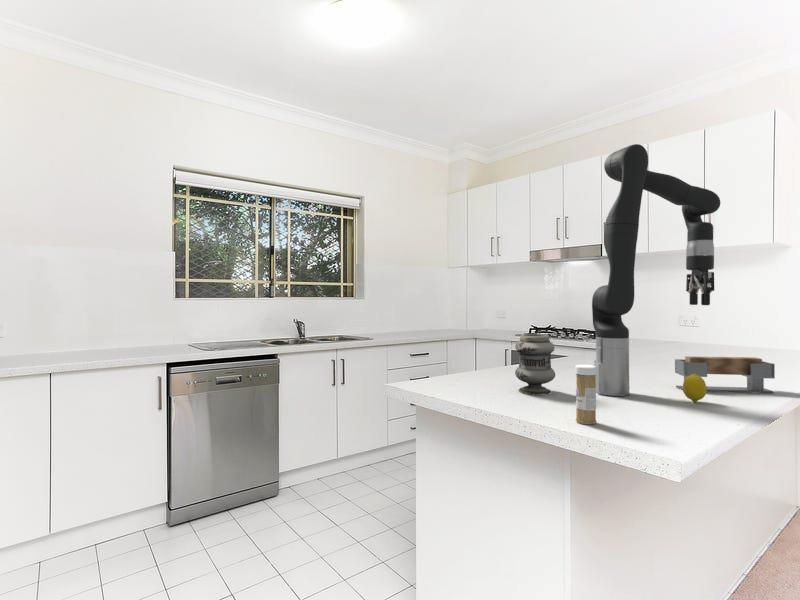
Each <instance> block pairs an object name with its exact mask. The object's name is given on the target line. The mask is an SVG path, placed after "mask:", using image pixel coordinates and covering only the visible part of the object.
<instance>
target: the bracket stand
mask: <svg viewBox="0 0 800 600" xmlns="http://www.w3.org/2000/svg"><path fill="white" fill-rule="evenodd" d="M775 368H776V367H775V363H771V362H767V361H763V360H762V363H749V375H742V376H744V377H746V387H744V386H741V387H739V386H712V385H711V386H710V385H708V386H707V385H706V392H716V391H735V392H734V393H752V392H759V394H774V391H773V390H771V389H768V388H765V384H764V381H765V380H764V379H773V380H774V379H776V378H775V376H776V375H775ZM674 372H675V374H677V375H680V376H682V377H683V381H684V380H685V378H686V377H688V376H690V375H692V374H696V375H698V376H700V377H701V378H707V377H708V374H707V363H706V362H685V358H684V359H683V358H681V359H678V358H677V359H674ZM676 387H677V388H676ZM675 388H676V389H678V388H679V390H680V389H681V391H682V390H683V385H675Z"/></svg>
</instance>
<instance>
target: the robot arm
mask: <svg viewBox="0 0 800 600" xmlns="http://www.w3.org/2000/svg"><path fill="white" fill-rule="evenodd" d="M603 167H604V168H603V169H604V171H605V173H606V176H608V177H609V178H610V179H611V180H614V181H616V182H619V183H620V189H619V192H618V195H617V197H616V198H615V201H614V203H613V204H612V207H611V208H610V210H609V212H608V214H607V217H606V219H605V225H604V233H603V245H604V249H605V253H606V256H607V260H608V263H609V274H608V275H609V276H608V284H607V285H601V286H599V287H598V288H596V290H595V291H594V292H593V295H592V299H591V300H592V301H591V311H592V312H591V313H592V314H591V316H592V325H593V329H594V331H595V360H594V361H593V366H596V394H598V395H603V396H613V397H614V396H615V397H625V396H629V395H630V330H629V328H628V327H627V326H626V325H625V323H624V322H623V320H622V319H623V318H622V316H624V315H626V314H628V313H629V312H630V311H631V310H632V308H633V305H634V303H635V265H636V264H635V263H636V252H637V243H638V237H639V236H638V235H639V227H640V214H641V205H642V197H643V192H644V191H646V192H649V193H651V194H654V195H656V196H658V197H660V198H662V199H664V200H666V201H668V202H669V203H671V204H673V205H676V206H681V212H682V216H683V219H684V223H685V226H686V229H687V234H686V235H687V237H686V239H687V240H686V241H687V243H686V248H685V249H686V251H685V254H686V255H685V265H686V266H685V269H686V270H687V271H691V273H687V274H686V280H685V281H686V286H685V287H686V288H685V291H686V292H688V294H689V305H690V306H698V303H699V294H698V293H699V290H700V293H701V294H700V295H701V297H700V302H701V303H700V304H701V306H710V304H711V293H712V292H714V291H715V272H714V271H711V270H714V268H715V244H714V225H713V224H712V223H711V222H708V221H703V219H702V217H701V216H705V215H710V214H713V213H716V212H717V211H718V210H719V209H720V207H721V199H720V197H719V195H718V194H717V193H716V192H714V191H712V190H711V189H707V188H704V187H699V186H695V185H692V184H690V183H687V182H685V181H684V180H682V179H680V178H679V177H676V176H673V175H670V174H666V173H661V172H658V171H657V172H656V171H651V170H648V167H649V154H648V151H647V149H646V148H645V147H644V146H643V145H641V144H639V143H638V144H637V143H635V144H630V145H627V146H626V147H623V148H621V149H619V150H616V151H614V152H612V153H611V154H609V155H608V156H607V157H606V158H605V161H604V166H603Z"/></svg>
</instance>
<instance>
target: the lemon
mask: <svg viewBox="0 0 800 600" xmlns="http://www.w3.org/2000/svg"><path fill="white" fill-rule="evenodd" d="M682 386H683V391H682V392H683V394H684V395H685V397H686V398H687V399H689V400H691V402H693V403H697V402H698V401H701V400H703V399H704V397H706V395H707V391H706V386H707V384H706V381H705V379H703V377H700V376H698V375H696V374H692V375H690V376H688V377H686V378H685V380H684V379H683V383H682Z"/></svg>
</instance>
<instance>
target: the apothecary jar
mask: <svg viewBox="0 0 800 600" xmlns="http://www.w3.org/2000/svg"><path fill="white" fill-rule="evenodd" d="M549 337H550V336H549V335H548V334H545V333H523V334H521V335H520V339H519V341H517V342H516V343H515V350H516V352H518V354H519V356H518V357H519V359H518V367H517V368H516V369H515V372H514V375H515V377H516V378H517V379H518V380H519V381H521V382H522V383H526V384H527V385H523V387H520V388H518V392H520V393H521V392H523V393H522V394H525V393H527V394H526V395H536V394H540V395H539V396H542V395H541V394H547V395H550V394H549V393H551V394H552V390H551V389H549V388H547V387H545V386H542V385H544V384H547V383H550V382H552V381H553V380H554V379H555V377H556V372H555V370H554V369H553V368H552V361H551V358H552V357H551V356H552V355H551V354H552V353H553V352H554V351H555V345H554V343H553V342H551V341H550V338H549Z"/></svg>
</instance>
